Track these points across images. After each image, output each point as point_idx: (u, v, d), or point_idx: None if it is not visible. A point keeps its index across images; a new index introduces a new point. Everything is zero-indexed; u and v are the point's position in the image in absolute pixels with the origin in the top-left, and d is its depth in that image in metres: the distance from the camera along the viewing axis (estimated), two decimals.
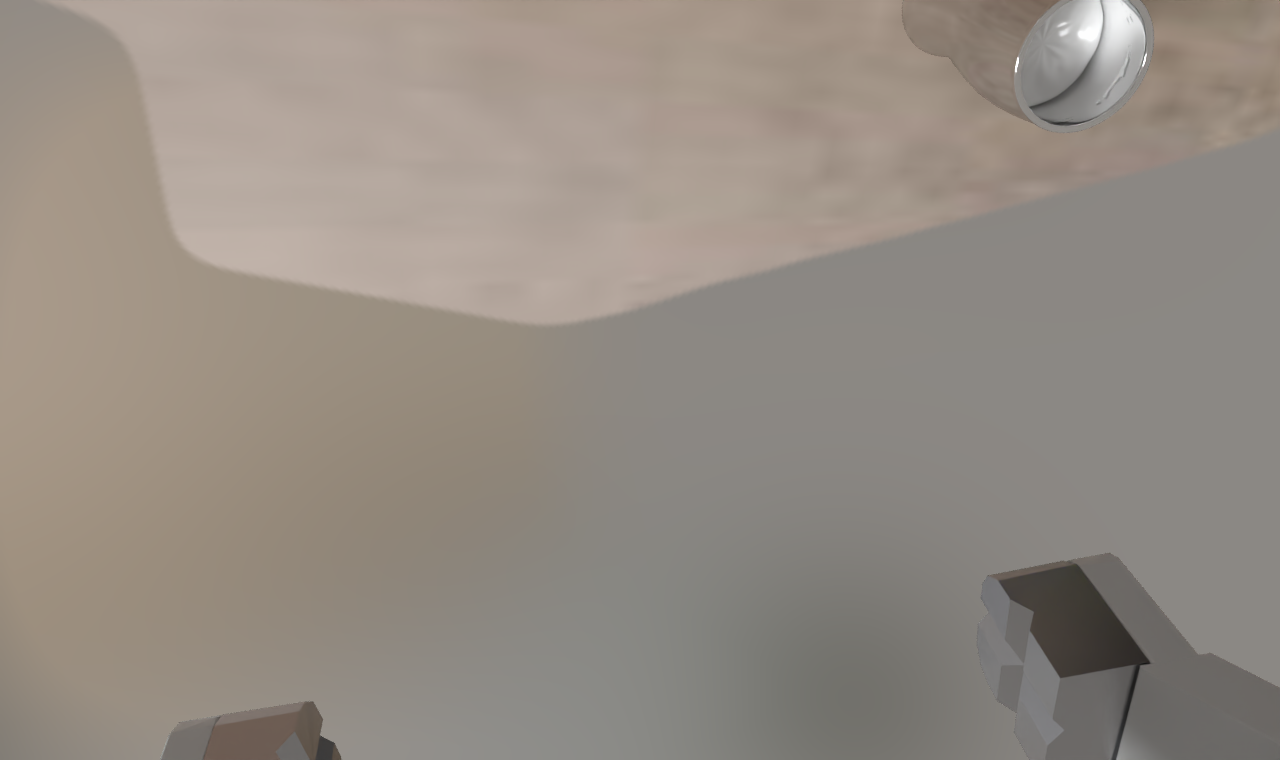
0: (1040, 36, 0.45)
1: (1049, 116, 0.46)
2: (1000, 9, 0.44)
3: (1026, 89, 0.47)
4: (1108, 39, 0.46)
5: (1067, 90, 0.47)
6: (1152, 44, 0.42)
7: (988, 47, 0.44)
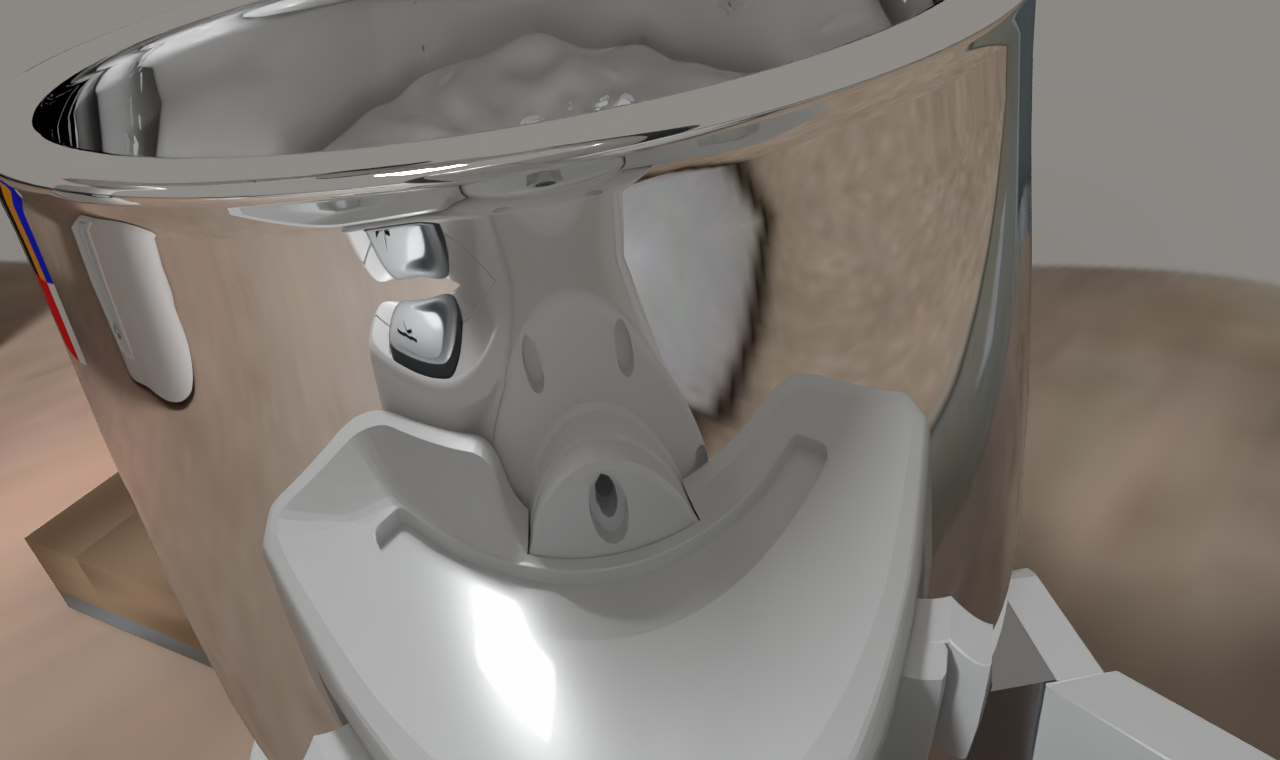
0: None
1: None
2: None
3: None
4: None
5: None
6: None
7: (207, 603, 0.05)
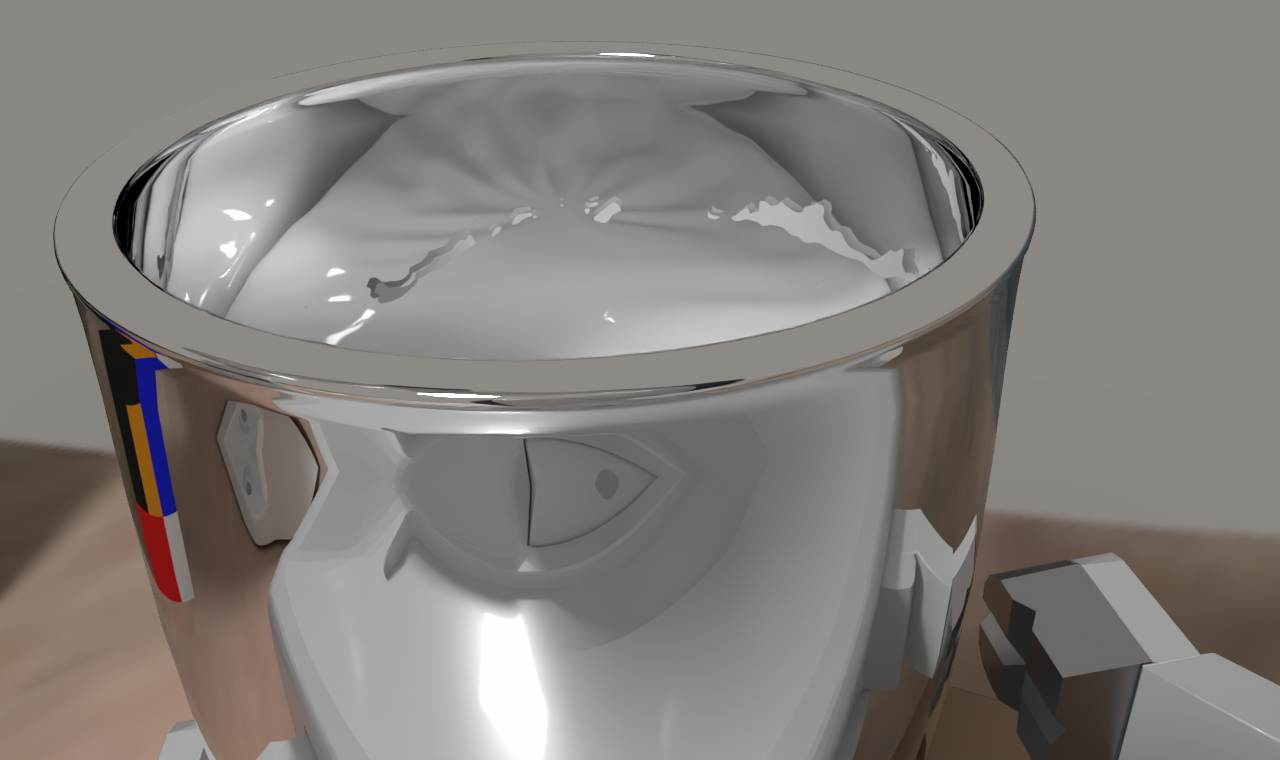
0: None
1: None
2: None
3: None
4: None
5: None
6: None
7: (241, 707, 0.06)
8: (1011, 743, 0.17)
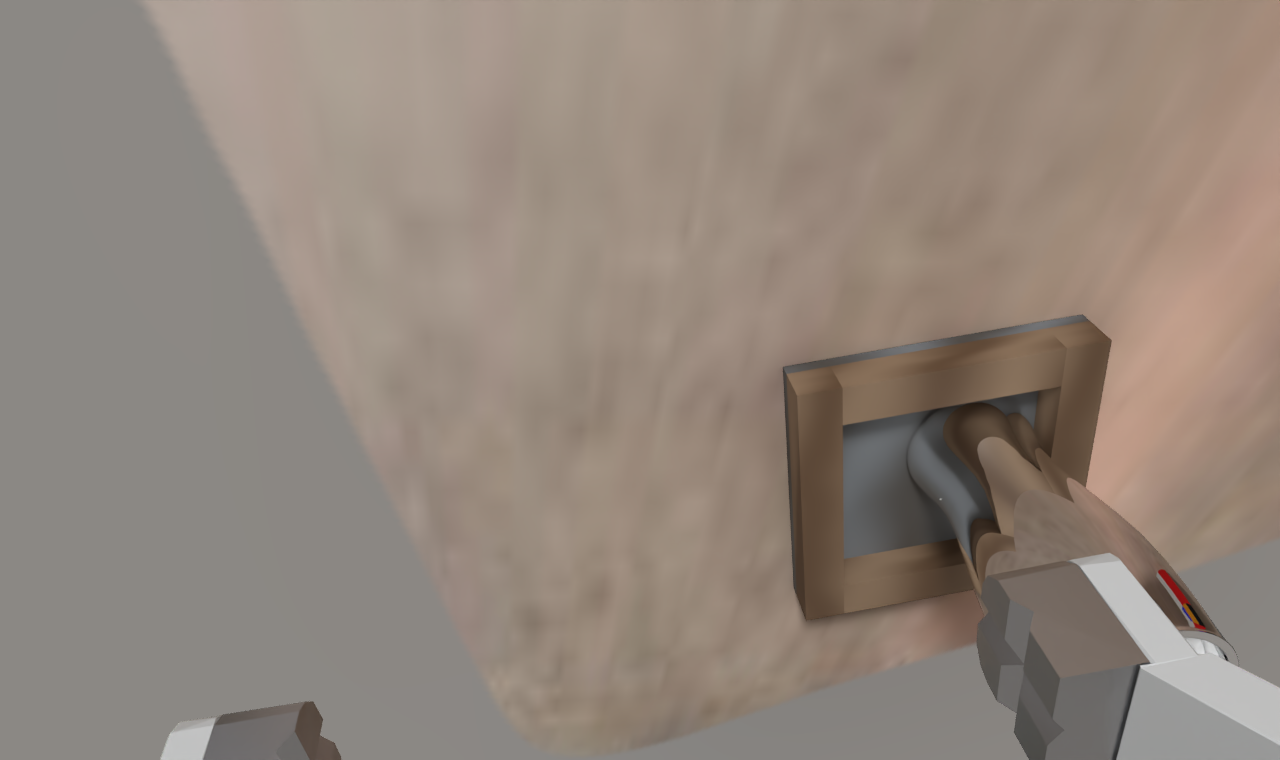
0: None
1: None
2: (1163, 567, 0.33)
3: None
4: None
5: None
6: None
7: None
8: (877, 595, 0.47)
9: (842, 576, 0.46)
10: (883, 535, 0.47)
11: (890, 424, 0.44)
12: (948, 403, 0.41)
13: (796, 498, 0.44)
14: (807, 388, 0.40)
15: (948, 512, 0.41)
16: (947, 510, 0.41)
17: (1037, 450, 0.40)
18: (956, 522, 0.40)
